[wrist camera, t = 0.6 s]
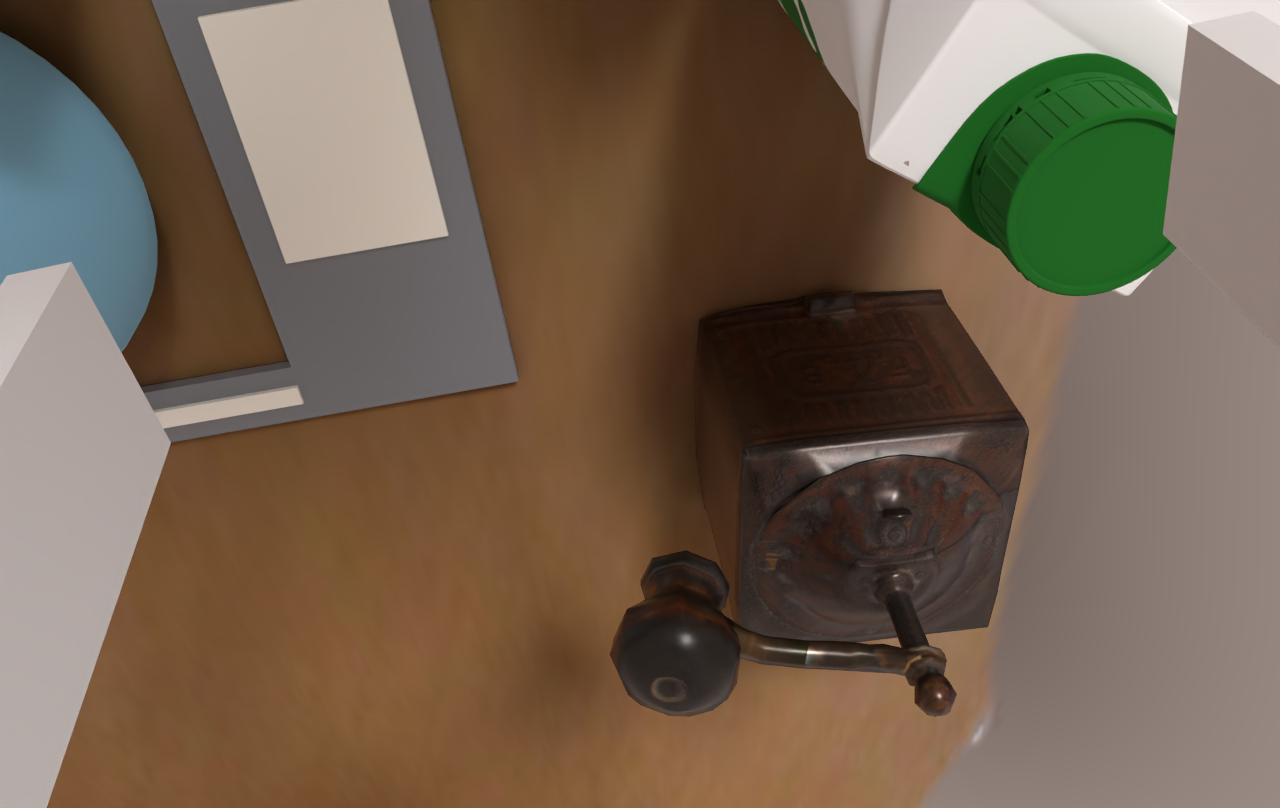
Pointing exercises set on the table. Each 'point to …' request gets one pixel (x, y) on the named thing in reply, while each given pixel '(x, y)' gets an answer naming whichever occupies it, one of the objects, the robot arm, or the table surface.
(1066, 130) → the milk carton
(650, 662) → the brown manual coffee grinder
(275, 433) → the table surface
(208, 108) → the label board
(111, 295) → the sugar bowl
